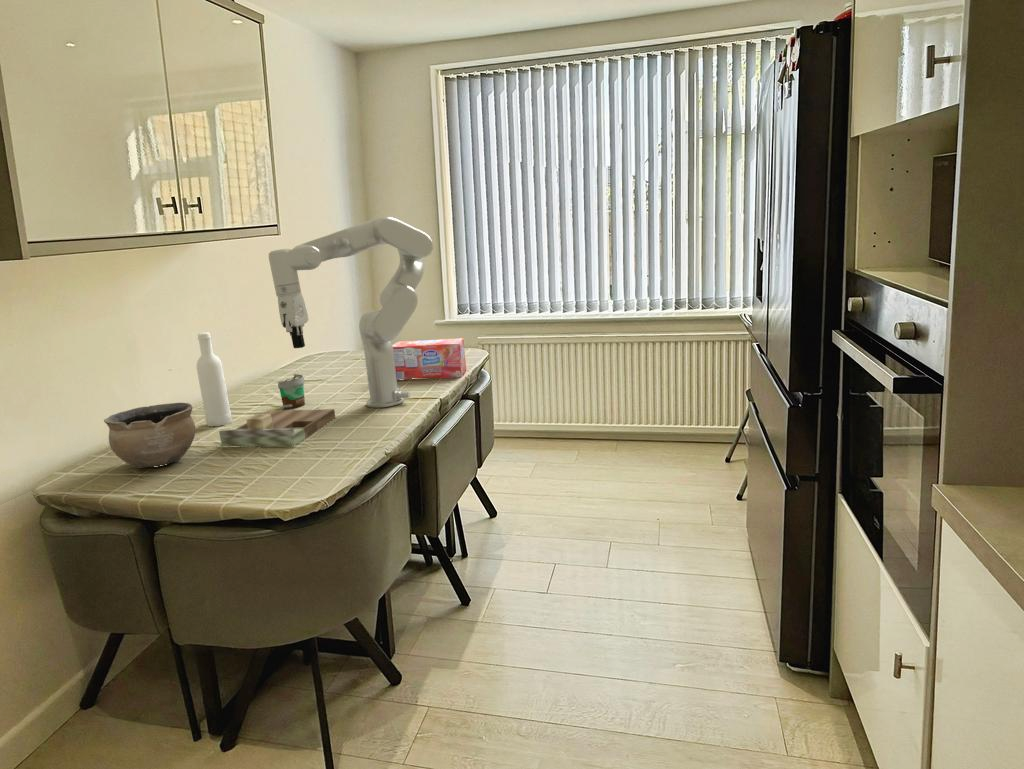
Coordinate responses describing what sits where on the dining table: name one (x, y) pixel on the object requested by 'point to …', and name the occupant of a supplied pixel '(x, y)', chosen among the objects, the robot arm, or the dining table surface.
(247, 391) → the dining table surface
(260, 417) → the maple block
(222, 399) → the bottle
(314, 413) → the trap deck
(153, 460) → the ceramic bowl
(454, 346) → the box
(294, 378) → the food container
